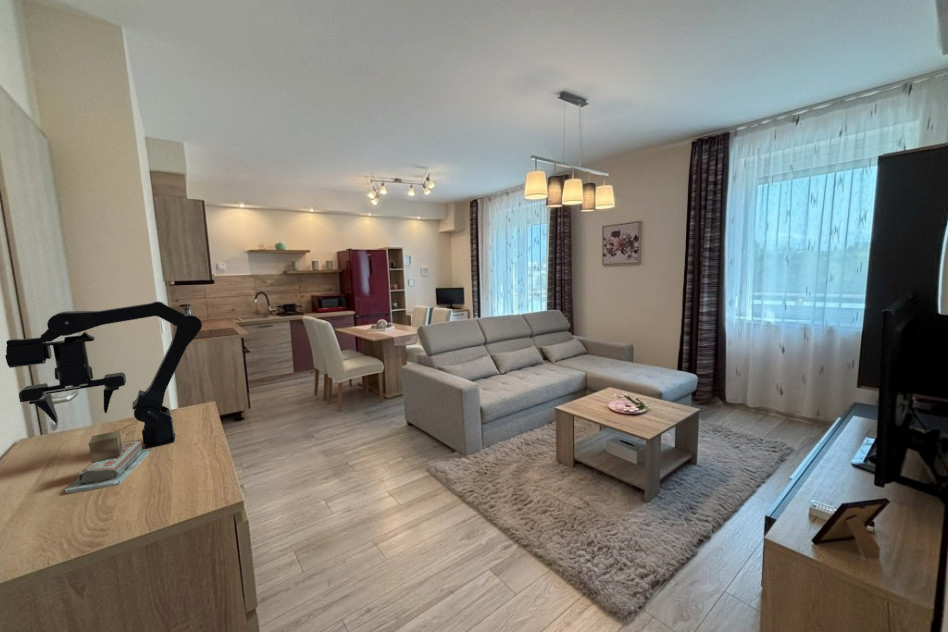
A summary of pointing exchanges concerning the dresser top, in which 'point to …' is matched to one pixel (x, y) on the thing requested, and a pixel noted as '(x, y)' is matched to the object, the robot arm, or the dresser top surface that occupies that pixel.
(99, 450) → the walnut block
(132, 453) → the packaged product
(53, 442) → the dresser top surface
